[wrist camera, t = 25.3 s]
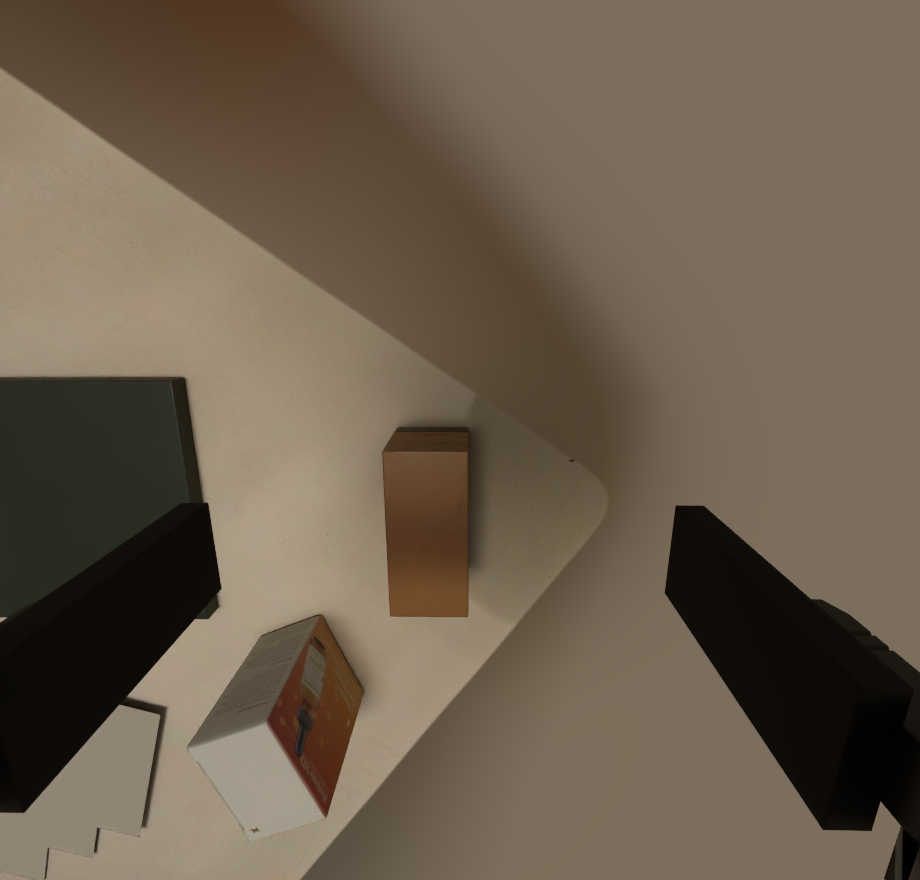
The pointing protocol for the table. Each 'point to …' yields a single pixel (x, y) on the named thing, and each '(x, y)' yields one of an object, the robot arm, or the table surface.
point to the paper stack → (85, 796)
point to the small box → (281, 730)
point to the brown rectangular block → (427, 521)
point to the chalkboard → (86, 474)
